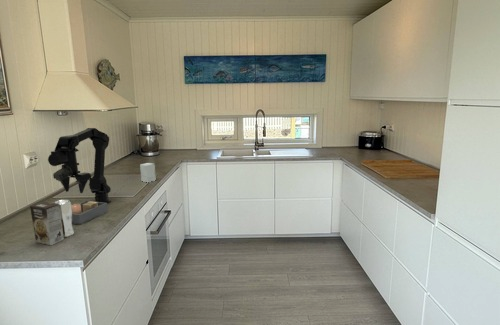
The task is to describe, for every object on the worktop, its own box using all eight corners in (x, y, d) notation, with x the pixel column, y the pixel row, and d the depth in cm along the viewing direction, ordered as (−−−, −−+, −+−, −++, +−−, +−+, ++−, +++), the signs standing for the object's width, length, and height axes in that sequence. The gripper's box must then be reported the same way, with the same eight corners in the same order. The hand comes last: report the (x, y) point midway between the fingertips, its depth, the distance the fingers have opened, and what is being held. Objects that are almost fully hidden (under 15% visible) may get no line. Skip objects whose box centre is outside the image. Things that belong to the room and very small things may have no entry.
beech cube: (91, 210, 167) (90, 201, 166) (98, 211, 165) (97, 202, 164) (83, 213, 162) (82, 204, 161) (91, 214, 160) (90, 205, 159)
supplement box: (156, 180, 227) (154, 163, 224) (147, 183, 221) (146, 165, 218) (149, 179, 231) (148, 162, 229) (141, 181, 225) (139, 164, 223)
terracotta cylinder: (77, 216, 158) (75, 203, 157) (84, 217, 157) (83, 204, 155) (68, 220, 154) (66, 206, 152) (76, 221, 152) (74, 207, 151)
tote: (87, 209, 170) (86, 200, 169) (108, 212, 165) (107, 203, 164) (58, 221, 154) (57, 211, 153) (80, 224, 149) (79, 214, 148)
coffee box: (35, 242, 131) (28, 205, 128) (49, 236, 137) (44, 200, 134) (50, 245, 128) (44, 208, 125) (64, 239, 134) (59, 203, 131)
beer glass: (55, 239, 134) (50, 205, 131) (58, 232, 141) (53, 200, 138) (74, 236, 137) (69, 203, 134) (76, 230, 143) (71, 198, 140)
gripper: (41, 164, 151) (45, 195, 154) (70, 166, 145) (75, 198, 148) (61, 159, 161) (65, 189, 164) (90, 161, 155) (93, 192, 158)
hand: (74, 192), depth 158 cm, fingers open, 9 cm apart
